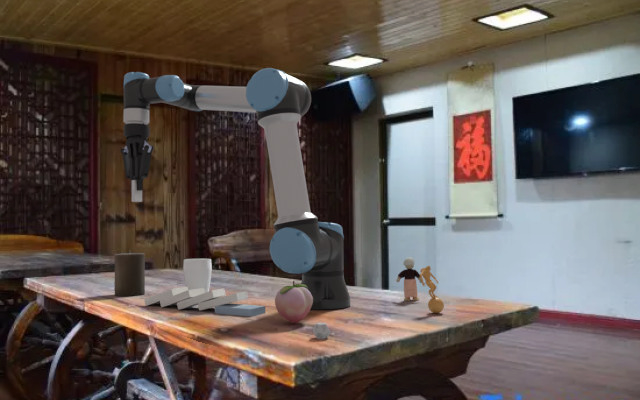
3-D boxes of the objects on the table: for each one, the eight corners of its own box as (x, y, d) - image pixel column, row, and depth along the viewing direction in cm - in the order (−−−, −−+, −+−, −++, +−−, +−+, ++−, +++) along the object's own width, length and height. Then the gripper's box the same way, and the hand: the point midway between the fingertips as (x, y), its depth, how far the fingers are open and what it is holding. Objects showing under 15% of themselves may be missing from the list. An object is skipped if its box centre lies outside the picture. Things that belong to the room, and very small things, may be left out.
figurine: (436, 316, 141) (435, 267, 142) (414, 314, 145) (413, 266, 145) (450, 311, 148) (449, 265, 148) (428, 309, 152) (427, 264, 152)
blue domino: (229, 310, 156) (265, 313, 150) (214, 314, 151) (251, 317, 145) (229, 303, 156) (265, 306, 150) (214, 306, 151) (251, 309, 145)
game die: (312, 336, 119) (311, 322, 119) (329, 336, 119) (329, 321, 119) (312, 340, 116) (312, 325, 116) (331, 339, 116) (331, 325, 116)
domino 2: (177, 304, 167) (205, 294, 161) (161, 307, 162) (189, 297, 156) (175, 298, 167) (204, 287, 161) (159, 300, 162) (188, 289, 156)
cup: (208, 298, 179) (208, 260, 179) (180, 299, 179) (179, 260, 179) (214, 294, 188) (214, 258, 188) (187, 295, 188) (187, 258, 188)
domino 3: (191, 306, 162) (225, 295, 158) (178, 309, 157) (213, 297, 152) (189, 300, 163) (223, 288, 158) (176, 302, 157) (211, 290, 153)
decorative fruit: (289, 319, 140) (288, 278, 141) (318, 321, 136) (317, 279, 137) (267, 325, 132) (266, 281, 133) (296, 328, 128) (296, 283, 128)
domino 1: (161, 303, 171) (188, 293, 164) (145, 305, 166) (173, 295, 159) (160, 296, 171) (187, 286, 165) (144, 299, 166) (171, 288, 160)
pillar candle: (139, 296, 187) (139, 250, 188) (109, 296, 187) (110, 250, 188) (148, 292, 197) (148, 249, 197) (120, 293, 197) (120, 249, 197)
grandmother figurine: (421, 298, 172) (420, 256, 172) (423, 300, 168) (423, 257, 168) (395, 299, 172) (394, 257, 172) (397, 301, 168) (397, 257, 168)
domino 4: (210, 308, 160) (248, 298, 156) (199, 310, 154) (237, 300, 150) (209, 300, 160) (246, 291, 156) (197, 303, 154) (236, 293, 151)
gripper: (160, 123, 174) (161, 201, 173) (133, 128, 181) (133, 202, 180) (140, 120, 168) (140, 200, 167) (112, 125, 175) (112, 202, 174)
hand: (136, 201), depth 174 cm, fingers closed
